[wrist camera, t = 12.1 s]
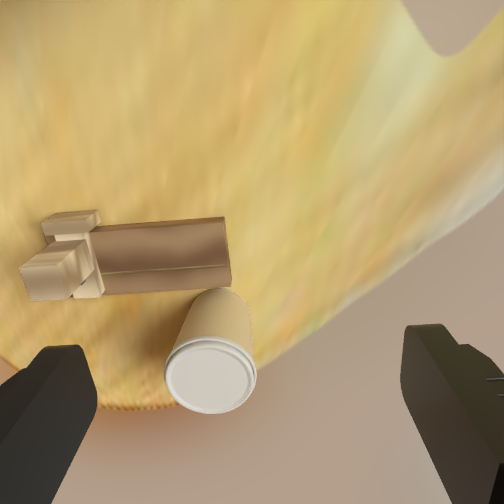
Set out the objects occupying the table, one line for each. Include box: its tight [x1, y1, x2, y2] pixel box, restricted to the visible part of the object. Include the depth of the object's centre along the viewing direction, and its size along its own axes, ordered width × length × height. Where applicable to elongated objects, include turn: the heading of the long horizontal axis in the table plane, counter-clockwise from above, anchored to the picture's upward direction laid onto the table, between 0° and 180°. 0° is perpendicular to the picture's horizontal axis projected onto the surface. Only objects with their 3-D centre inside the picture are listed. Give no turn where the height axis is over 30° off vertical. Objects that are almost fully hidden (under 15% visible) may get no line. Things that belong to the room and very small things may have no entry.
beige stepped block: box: [19, 210, 105, 302], centre depth 40 cm, size 9×5×10 cm, turn 5°
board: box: [45, 217, 232, 297], centre depth 44 cm, size 8×20×2 cm, turn 95°
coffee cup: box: [164, 288, 257, 414], centre depth 43 cm, size 9×9×12 cm
